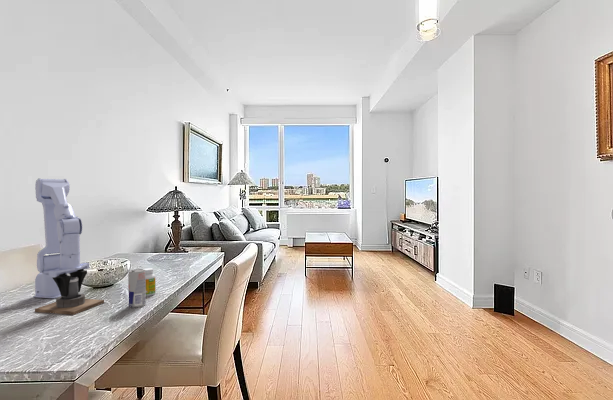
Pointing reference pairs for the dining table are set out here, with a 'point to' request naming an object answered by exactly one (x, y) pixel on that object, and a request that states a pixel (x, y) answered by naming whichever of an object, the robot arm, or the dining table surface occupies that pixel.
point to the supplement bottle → (150, 281)
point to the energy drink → (137, 288)
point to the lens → (72, 288)
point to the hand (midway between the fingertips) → (70, 294)
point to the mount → (69, 305)
